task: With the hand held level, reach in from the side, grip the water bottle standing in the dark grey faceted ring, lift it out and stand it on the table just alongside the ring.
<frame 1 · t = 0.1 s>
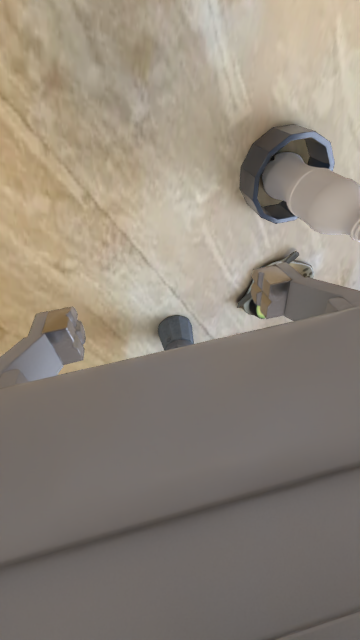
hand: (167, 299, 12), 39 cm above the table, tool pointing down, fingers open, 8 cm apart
moka pot: (175, 326, 70), on the table
avocado toast plate: (272, 288, 68), on the table
water bottle: (275, 171, 48), resting in dark grey faceted ring
dark grey faceted ring: (276, 171, 48), on the table
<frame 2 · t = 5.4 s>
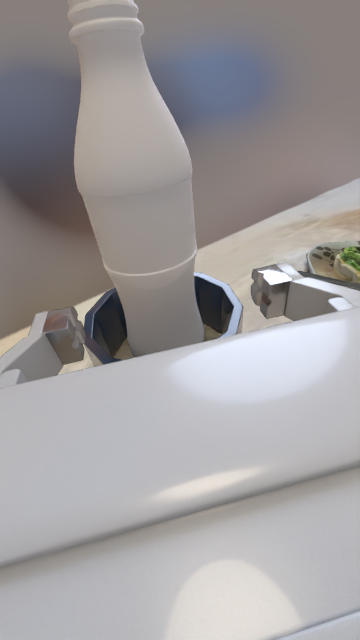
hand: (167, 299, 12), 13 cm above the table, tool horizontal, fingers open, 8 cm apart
water bottle: (170, 357, 27), resting in dark grey faceted ring
dark grey faceted ring: (170, 356, 27), on the table
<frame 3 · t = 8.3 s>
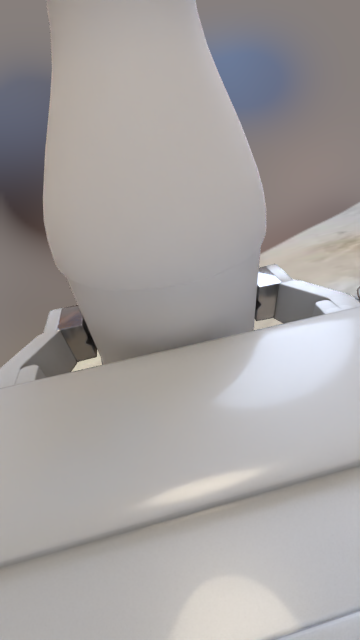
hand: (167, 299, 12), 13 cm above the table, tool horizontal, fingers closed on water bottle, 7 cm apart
water bottle: (195, 450, 20), resting in dark grey faceted ring, touching gripper
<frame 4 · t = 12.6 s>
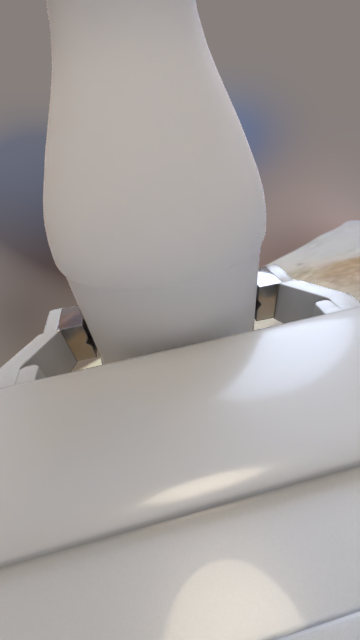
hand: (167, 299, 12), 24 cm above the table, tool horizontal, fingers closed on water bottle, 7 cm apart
water bottle: (195, 449, 20), point 11 cm above the table, touching gripper
when the fingers open (13 cm above the table, at t = 17.1 s): water bottle stays where it is, on the table.
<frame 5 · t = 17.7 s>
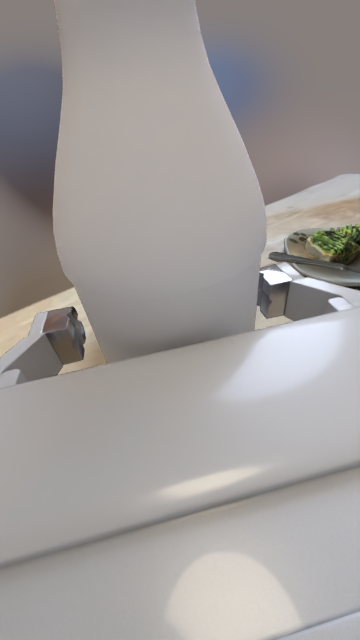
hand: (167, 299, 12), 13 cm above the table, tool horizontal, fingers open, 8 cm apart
avocado toast plate: (351, 262, 38), on the table
water bottle: (196, 449, 20), on the table
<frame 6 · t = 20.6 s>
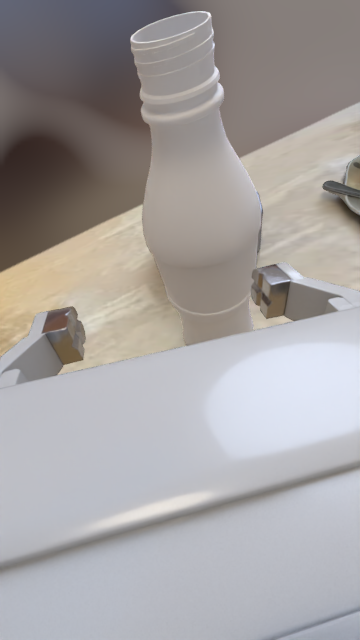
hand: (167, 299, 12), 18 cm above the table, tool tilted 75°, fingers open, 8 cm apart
water bottle: (219, 344, 30), on the table
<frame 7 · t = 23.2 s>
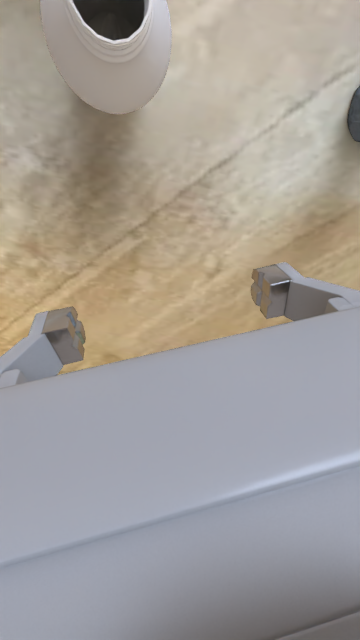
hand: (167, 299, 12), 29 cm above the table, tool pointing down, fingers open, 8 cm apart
water bottle: (110, 69, 28), on the table
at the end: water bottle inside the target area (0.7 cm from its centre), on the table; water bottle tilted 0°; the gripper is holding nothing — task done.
